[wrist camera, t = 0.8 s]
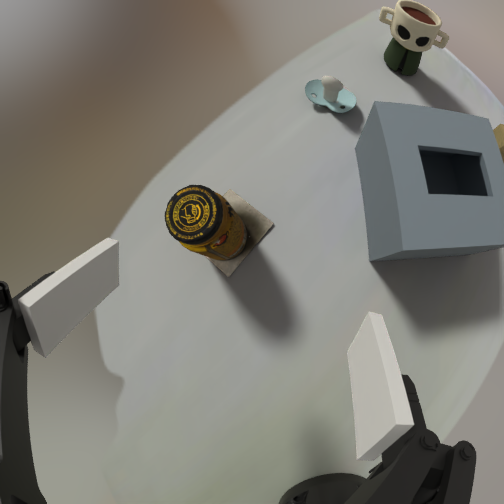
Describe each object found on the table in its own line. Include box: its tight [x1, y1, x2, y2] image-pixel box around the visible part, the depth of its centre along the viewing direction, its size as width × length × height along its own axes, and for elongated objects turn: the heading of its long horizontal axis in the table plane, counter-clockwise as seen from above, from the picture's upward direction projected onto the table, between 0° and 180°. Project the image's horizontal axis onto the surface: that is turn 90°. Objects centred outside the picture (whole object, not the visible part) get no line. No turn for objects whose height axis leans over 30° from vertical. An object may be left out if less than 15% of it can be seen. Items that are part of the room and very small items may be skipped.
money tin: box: [355, 101, 504, 261], centre depth 27 cm, size 15×16×11 cm
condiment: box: [165, 185, 274, 277], centre depth 29 cm, size 7×8×12 cm
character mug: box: [379, 0, 449, 75], centre depth 28 cm, size 11×7×13 cm, turn 67°
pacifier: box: [305, 76, 356, 113], centre depth 33 cm, size 7×6×6 cm
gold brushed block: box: [493, 124, 504, 163], centre depth 27 cm, size 3×6×8 cm, turn 92°
